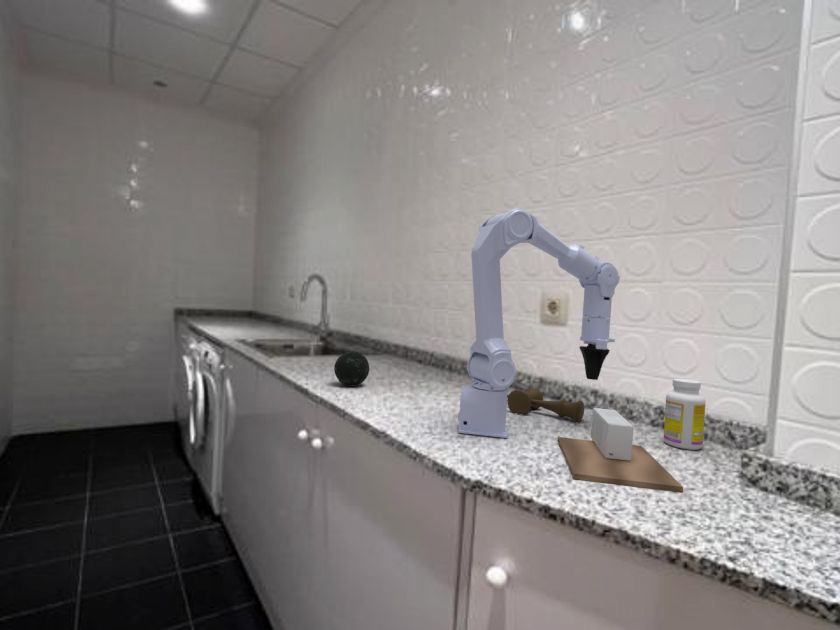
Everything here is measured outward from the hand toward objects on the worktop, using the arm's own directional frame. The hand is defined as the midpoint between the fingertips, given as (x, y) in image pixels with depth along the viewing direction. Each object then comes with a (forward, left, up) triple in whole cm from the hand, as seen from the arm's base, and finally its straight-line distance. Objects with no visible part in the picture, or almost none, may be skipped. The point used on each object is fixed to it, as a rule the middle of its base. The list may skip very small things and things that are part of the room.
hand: (592, 379), depth 97 cm
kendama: (-10, +7, -11) cm, 16 cm away
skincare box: (0, -13, -6) cm, 14 cm away
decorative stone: (-62, +19, -11) cm, 66 cm away
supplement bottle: (+16, -8, -11) cm, 21 cm away
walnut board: (-1, -24, -10) cm, 26 cm away
